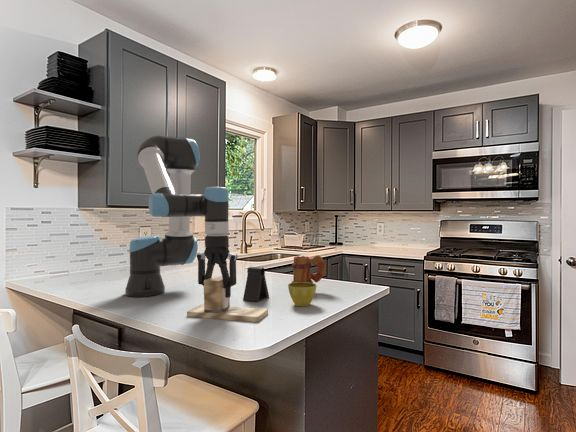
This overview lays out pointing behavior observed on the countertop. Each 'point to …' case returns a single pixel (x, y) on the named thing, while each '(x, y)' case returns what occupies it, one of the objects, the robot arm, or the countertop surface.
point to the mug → (307, 269)
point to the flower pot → (302, 292)
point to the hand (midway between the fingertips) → (217, 306)
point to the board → (230, 313)
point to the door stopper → (255, 285)
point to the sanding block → (214, 295)
